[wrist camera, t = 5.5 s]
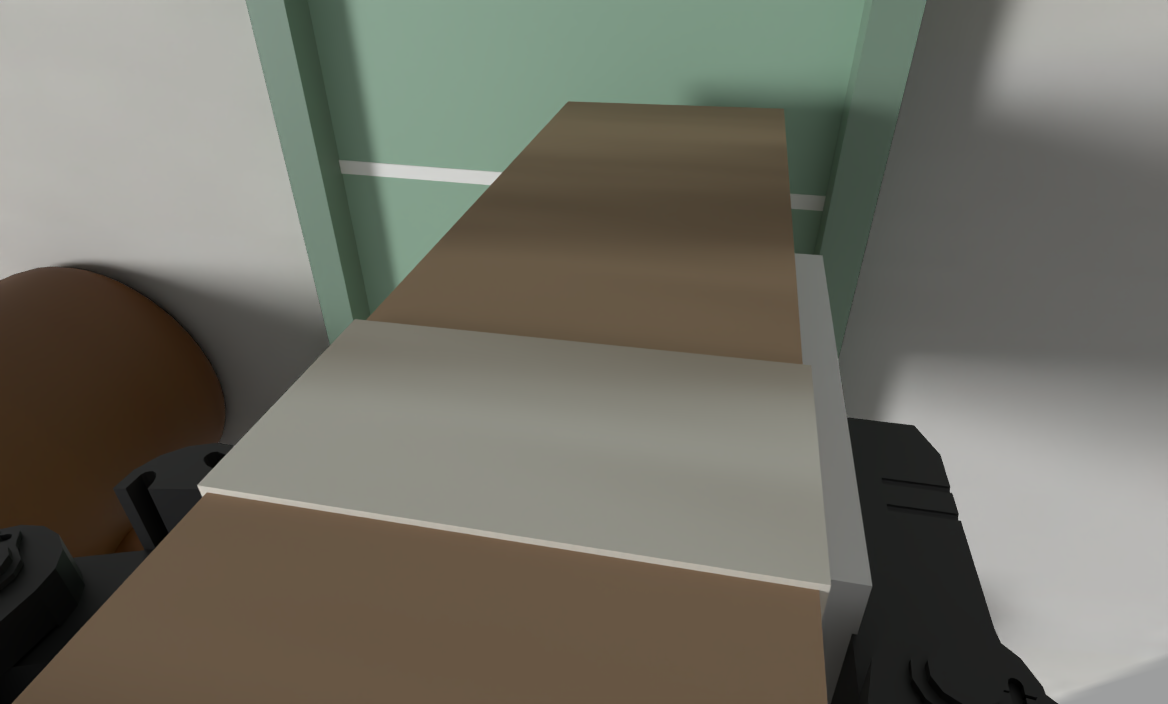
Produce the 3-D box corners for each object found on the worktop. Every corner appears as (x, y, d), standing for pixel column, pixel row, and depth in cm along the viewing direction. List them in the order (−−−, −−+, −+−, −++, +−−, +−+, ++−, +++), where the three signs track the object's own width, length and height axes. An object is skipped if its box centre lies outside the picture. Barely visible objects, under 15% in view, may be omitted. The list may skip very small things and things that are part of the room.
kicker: (565, 98, 12) (-326, 1035, 2) (787, 105, 11) (920, 1527, 2) (574, 384, 15) (240, 1254, 6) (746, 404, 15) (704, 1437, 5)
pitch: (172, -545, 10) (-210, -821, 6) (1060, -654, 8) (1350, -1179, 4) (421, 622, 26) (358, 758, 22) (748, 687, 24) (745, 850, 20)
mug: (396, 456, 21) (191, 775, 14) (301, 559, 26) (103, 847, 18) (31, 202, 19) (-468, 418, 11) (-8, 362, 23) (-392, 600, 15)
